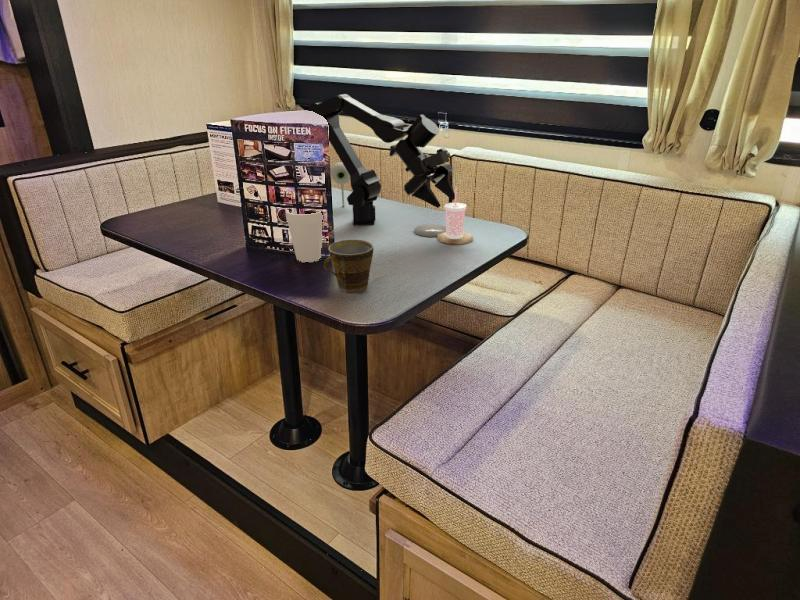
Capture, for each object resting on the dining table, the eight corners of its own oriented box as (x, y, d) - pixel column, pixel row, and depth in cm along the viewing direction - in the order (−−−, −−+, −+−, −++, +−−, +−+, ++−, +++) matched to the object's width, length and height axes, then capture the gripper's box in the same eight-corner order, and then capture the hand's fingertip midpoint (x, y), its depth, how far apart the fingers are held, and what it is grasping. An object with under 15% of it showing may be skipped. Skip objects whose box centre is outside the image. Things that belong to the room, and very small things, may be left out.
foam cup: (332, 253, 144) (329, 205, 139) (318, 266, 136) (314, 216, 131) (299, 250, 147) (295, 203, 141) (284, 262, 139) (278, 213, 133)
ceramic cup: (353, 276, 130) (351, 236, 126) (384, 286, 124) (382, 245, 120) (312, 293, 122) (308, 251, 117) (342, 306, 116) (340, 262, 111)
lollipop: (332, 210, 181) (329, 164, 175) (333, 204, 188) (330, 160, 181) (354, 209, 182) (351, 164, 175) (353, 203, 188) (351, 159, 182)
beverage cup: (439, 234, 155) (440, 186, 149) (458, 231, 157) (460, 183, 151) (450, 241, 150) (451, 191, 144) (469, 237, 152) (471, 188, 146)
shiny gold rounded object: (439, 244, 149) (439, 242, 149) (435, 233, 158) (435, 231, 158) (475, 243, 150) (475, 241, 149) (469, 232, 159) (469, 230, 158)
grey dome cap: (415, 237, 155) (415, 235, 155) (413, 226, 164) (413, 224, 164) (450, 236, 156) (450, 234, 155) (445, 225, 165) (445, 223, 164)
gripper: (414, 144, 139) (450, 193, 139) (448, 134, 153) (481, 178, 153) (388, 171, 146) (423, 217, 146) (423, 159, 160) (454, 201, 160)
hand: (447, 202), depth 151 cm, fingers open, 9 cm apart
